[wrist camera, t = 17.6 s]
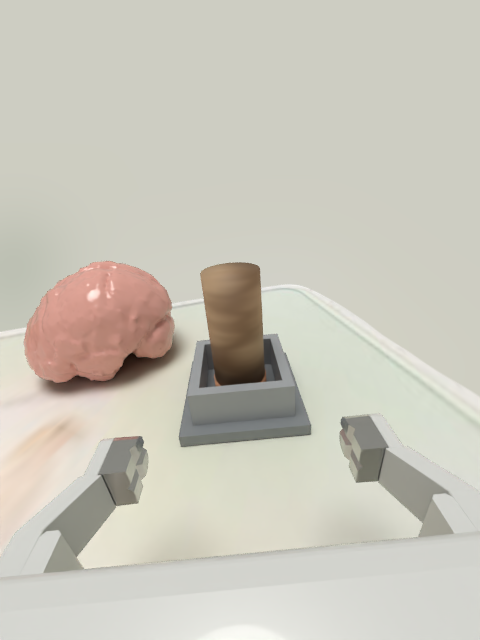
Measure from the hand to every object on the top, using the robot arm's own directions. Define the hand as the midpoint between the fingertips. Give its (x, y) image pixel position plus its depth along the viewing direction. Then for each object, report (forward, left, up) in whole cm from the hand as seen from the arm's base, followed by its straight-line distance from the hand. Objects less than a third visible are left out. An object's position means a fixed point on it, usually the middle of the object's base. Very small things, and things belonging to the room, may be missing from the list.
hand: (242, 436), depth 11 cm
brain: (-15, +21, -9) cm, 27 cm away
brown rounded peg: (0, +12, -7) cm, 14 cm away
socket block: (0, +12, -8) cm, 15 cm away
